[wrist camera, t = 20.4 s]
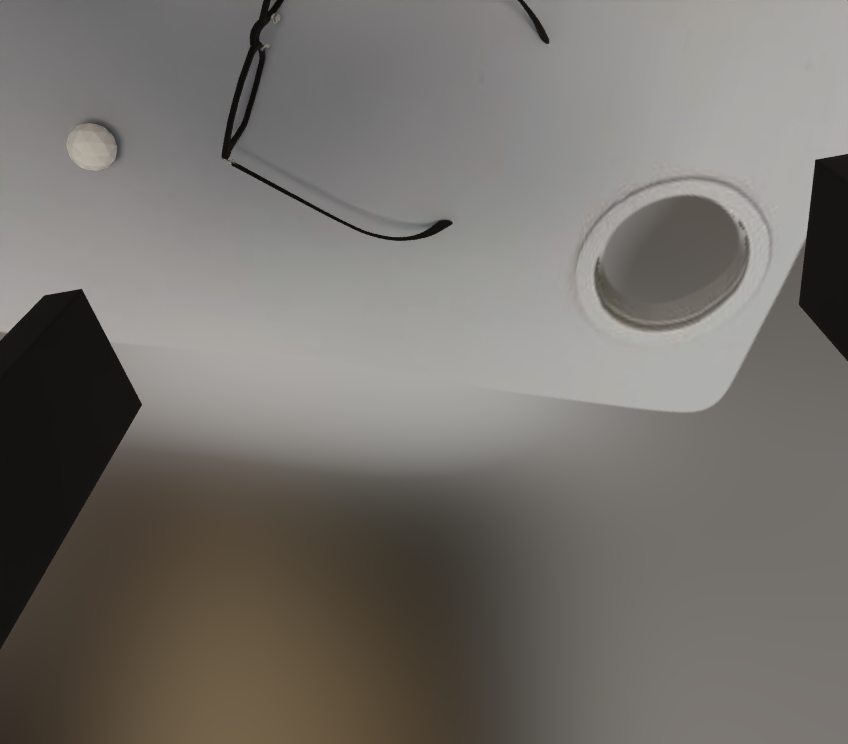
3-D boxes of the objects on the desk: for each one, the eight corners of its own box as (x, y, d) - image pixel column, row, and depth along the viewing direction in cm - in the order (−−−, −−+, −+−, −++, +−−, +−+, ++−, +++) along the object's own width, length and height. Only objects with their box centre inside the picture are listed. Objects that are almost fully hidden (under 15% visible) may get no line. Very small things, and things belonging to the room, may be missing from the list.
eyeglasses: (311, -132, 38) (299, -135, 34) (565, 10, 41) (576, 20, 38) (223, 147, 46) (207, 167, 43) (440, 245, 50) (440, 270, 47)
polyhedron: (133, 142, 46) (115, 156, 44) (106, 171, 47) (87, 187, 45) (96, 107, 45) (76, 120, 43) (69, 138, 46) (48, 152, 44)
